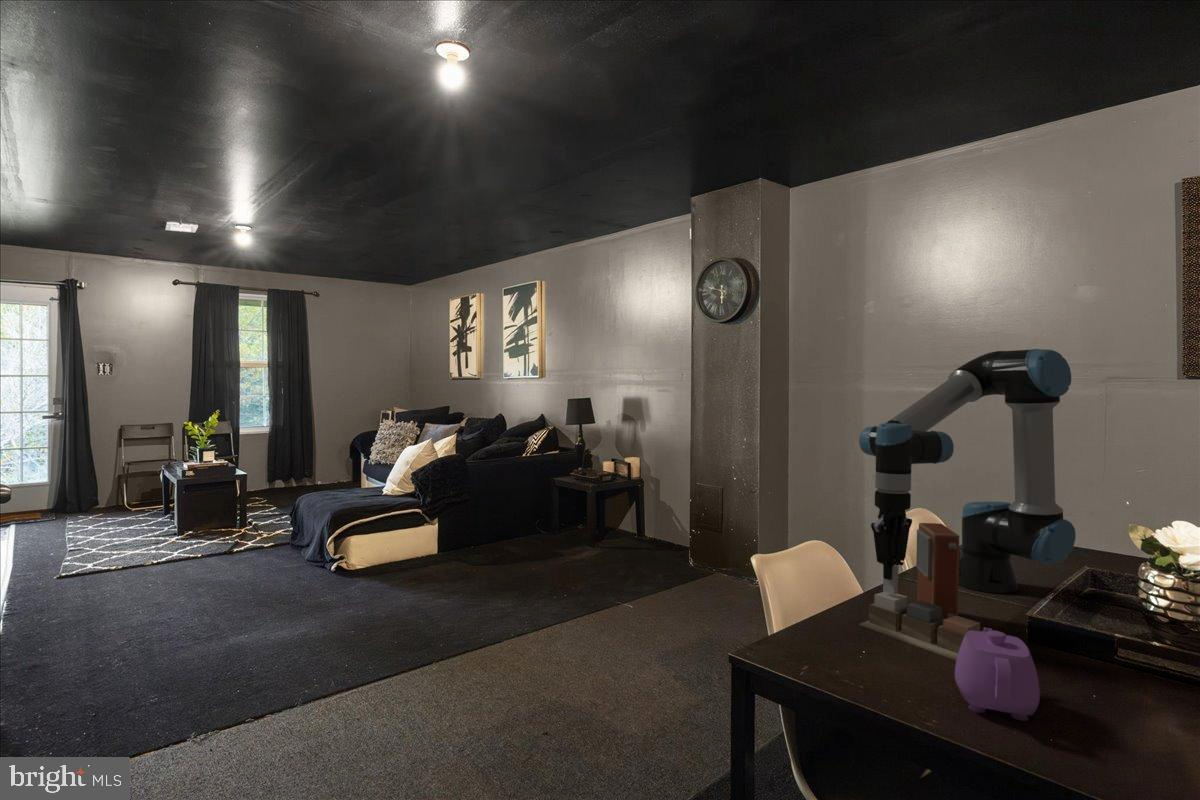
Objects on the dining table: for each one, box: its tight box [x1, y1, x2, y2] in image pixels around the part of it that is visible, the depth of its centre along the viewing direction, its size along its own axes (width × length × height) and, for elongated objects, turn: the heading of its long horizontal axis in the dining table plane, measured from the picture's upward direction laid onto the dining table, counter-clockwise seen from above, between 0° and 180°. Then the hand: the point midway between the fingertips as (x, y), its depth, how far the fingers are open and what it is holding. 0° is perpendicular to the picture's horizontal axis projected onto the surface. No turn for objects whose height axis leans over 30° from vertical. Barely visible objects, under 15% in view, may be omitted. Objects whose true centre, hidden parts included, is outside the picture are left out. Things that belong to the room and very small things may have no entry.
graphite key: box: [907, 600, 942, 624], centre depth 141 cm, size 5×5×4 cm
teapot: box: [954, 627, 1041, 722], centre depth 112 cm, size 20×12×13 cm, turn 156°
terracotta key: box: [943, 615, 981, 635], centre depth 135 cm, size 5×5×4 cm
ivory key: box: [873, 591, 908, 612], centre depth 148 cm, size 5×5×4 cm
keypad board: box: [858, 603, 984, 661], centre depth 141 cm, size 12×24×4 cm, turn 34°
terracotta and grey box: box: [915, 522, 961, 619], centre depth 153 cm, size 21×7×15 cm
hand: (890, 592), depth 148 cm, fingers closed
